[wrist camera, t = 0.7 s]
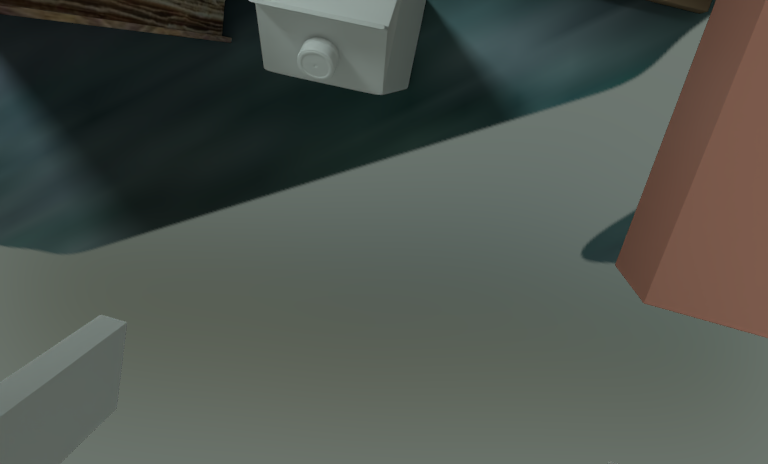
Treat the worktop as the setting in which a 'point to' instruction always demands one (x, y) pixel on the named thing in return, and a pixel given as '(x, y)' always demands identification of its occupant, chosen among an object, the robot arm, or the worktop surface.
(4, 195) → the worktop surface
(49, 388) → the robot arm
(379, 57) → the milk carton
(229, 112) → the worktop surface
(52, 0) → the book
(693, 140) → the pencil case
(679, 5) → the shelf stand
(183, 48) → the worktop surface
